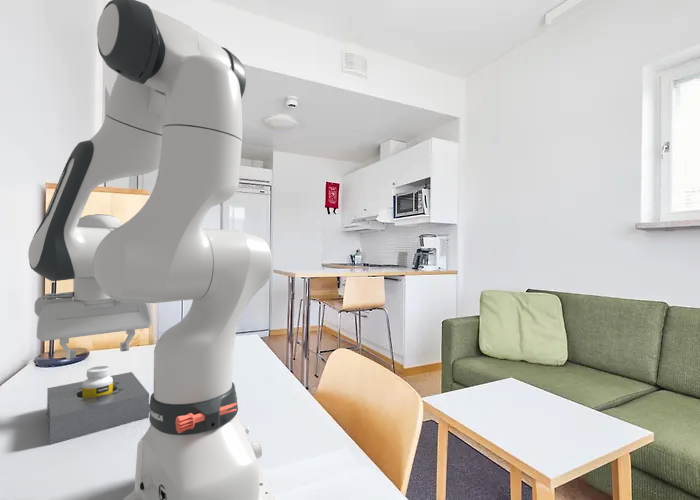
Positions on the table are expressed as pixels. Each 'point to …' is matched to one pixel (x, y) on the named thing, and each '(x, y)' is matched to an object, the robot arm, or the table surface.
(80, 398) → the block
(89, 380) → the supplement bottle
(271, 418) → the table surface
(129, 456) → the table surface
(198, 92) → the robot arm
